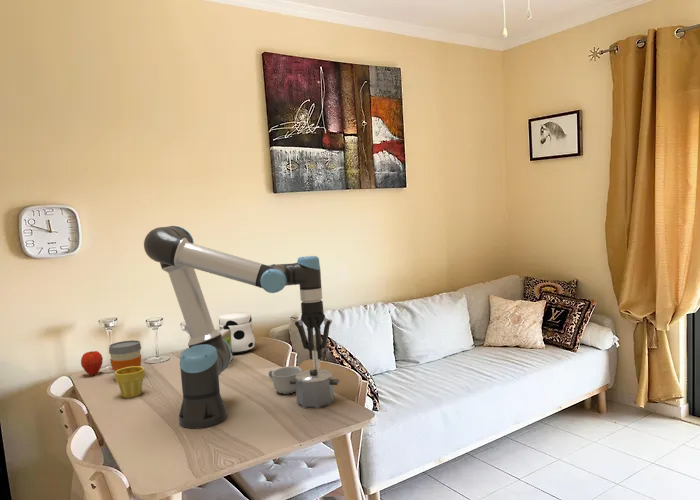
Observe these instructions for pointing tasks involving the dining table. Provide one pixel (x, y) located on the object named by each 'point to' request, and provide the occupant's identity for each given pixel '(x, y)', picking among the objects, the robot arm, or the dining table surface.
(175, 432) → the dining table surface
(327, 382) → the cooker
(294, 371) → the teacup
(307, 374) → the lid
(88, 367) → the apple
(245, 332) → the milk container
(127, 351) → the reusable coffee cup
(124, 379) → the plant pot
